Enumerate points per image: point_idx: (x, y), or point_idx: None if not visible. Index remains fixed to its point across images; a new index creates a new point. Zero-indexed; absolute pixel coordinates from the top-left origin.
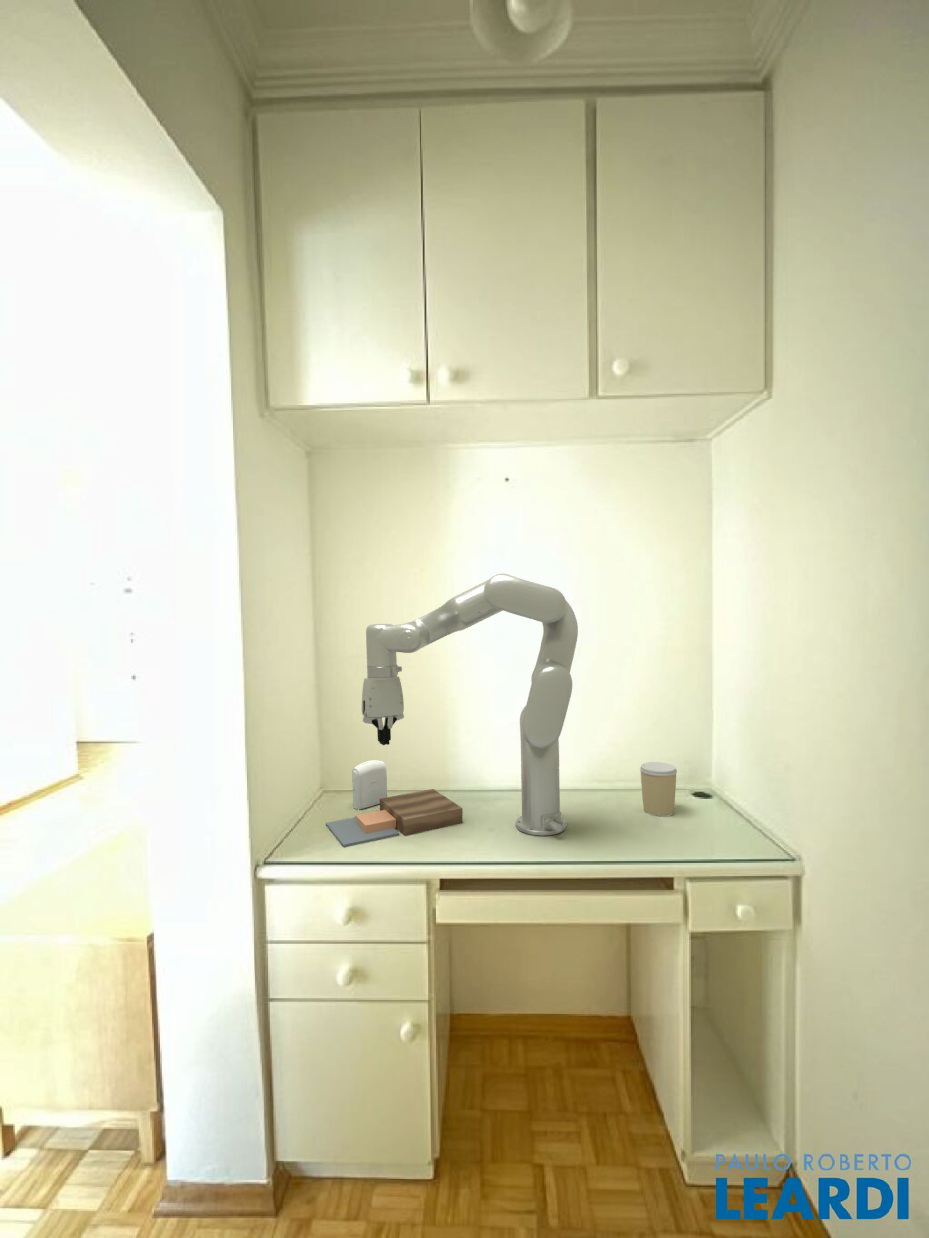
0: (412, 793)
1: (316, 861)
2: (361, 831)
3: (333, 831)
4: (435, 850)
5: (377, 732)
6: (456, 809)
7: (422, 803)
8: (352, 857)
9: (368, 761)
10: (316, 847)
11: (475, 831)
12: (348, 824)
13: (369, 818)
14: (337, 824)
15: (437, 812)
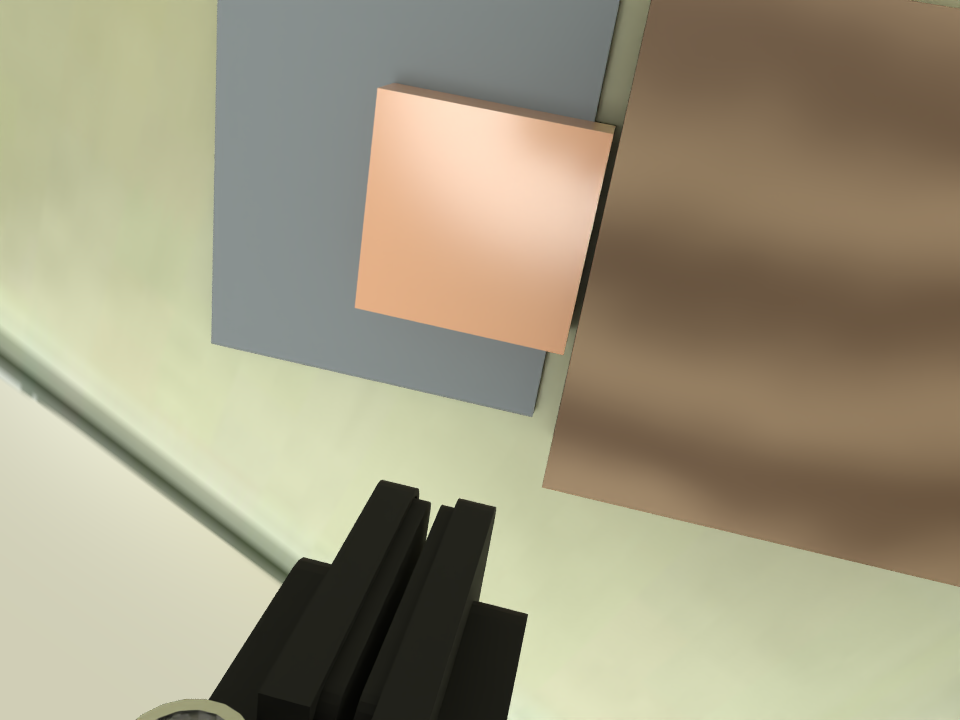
0: None
1: (67, 387)
2: None
3: (219, 122)
4: (568, 656)
5: (234, 660)
6: (934, 578)
7: (851, 330)
8: (220, 462)
9: None
10: (97, 239)
11: (895, 646)
12: (340, 73)
13: (429, 217)
14: (278, 17)
15: (790, 537)
